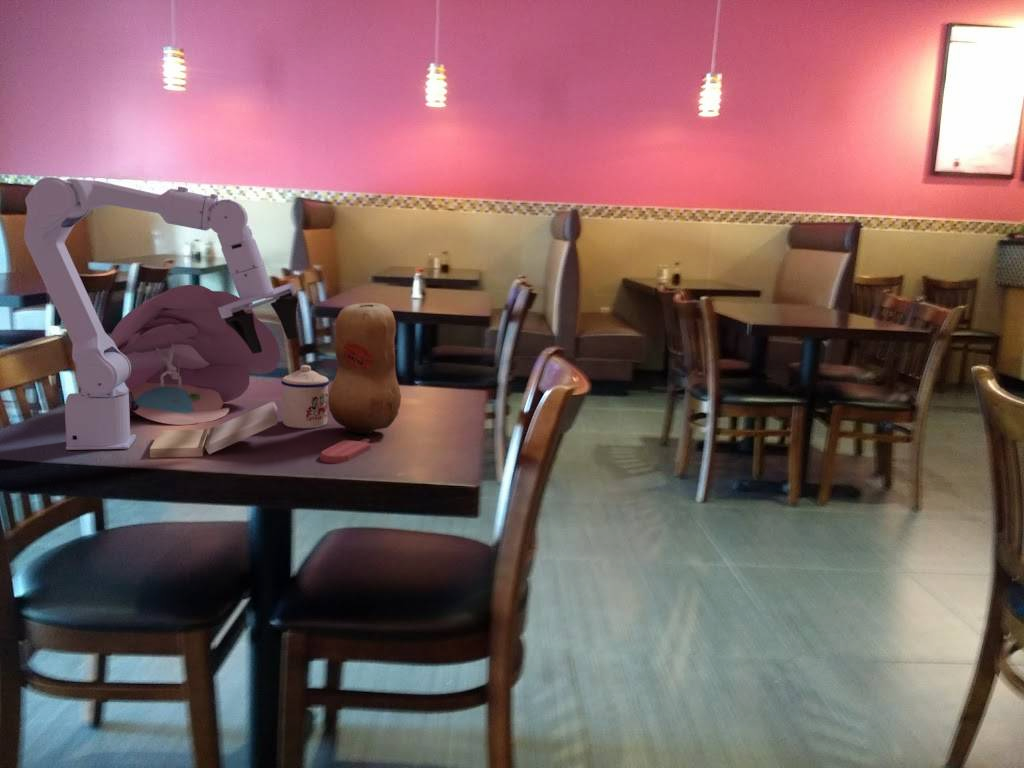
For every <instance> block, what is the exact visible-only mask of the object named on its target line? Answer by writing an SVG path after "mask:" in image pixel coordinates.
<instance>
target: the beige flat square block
mask: <svg viewBox="0 0 1024 768" xmlns="http://www.w3.org/2000/svg"><path fill="white" fill-rule="evenodd" d="M276 425H278V407H277V404H276V403H275V400H272V401H271V402H267V403H266V404H263V405H262V406H259V407H256V408H255V409H252V410H250V411H248V412H245V413H244V414H241V415H238V416H237V417H234V418H232V419H230V420H228V421H225V422H222V423H221V424H218V425H216V426H212V427H211V428H210V430H209V435H208V438H207V441H206V444H205V450H206V451H207V453H208V455H211V454H213V453H215V452H217V451H220V450H222V449H225V448H226V447H229V446H231V445H234V444H235V443H239V442H240V441H243V440H245V439H246V438H249V437H251V436H254V435H255V434H259V433H260V432H262V431H265V430H267V429H270V428H271V427H273V426H276Z"/></svg>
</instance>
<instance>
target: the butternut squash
mask: <svg viewBox="0 0 1024 768" xmlns="http://www.w3.org/2000/svg"><path fill="white" fill-rule="evenodd" d="M335 320H336V321H335V332H334V333H335V335H334V349H335V350H334V352H335V358H336V361H337V368H336V369H337V370H336V373H335V377H334V379H333V380H332V384H331V386H330V388H329V392H328V410H329V411H330V414H331V416H332V418H333V420H335V422H337V423H338V424H339V426H340V425H341V426H342V427H344V428H346V429H347V430H349V431H350V432H353V433H356V434H365V435H369V434H372V432H374V431H377V430H382V429H383V430H384V429H387V428H389V426H391V425H392V424H393V422H395V419H396V418H397V417H398V415H399V409H400V407H401V403H402V399H401V398H402V395H401V390H400V386H399V385H400V384H399V381H398V378H397V374H396V350H395V349H396V348H395V337H396V332H397V323H396V318H395V316H394V312H393V311H392V310H391V308H390V307H389V306H387V305H386V304H383V303H377V302H361V303H354V304H350V305H347V306H345V307H343V308H342V309H341V310H340V312H339V313H338V316H337V317H336V319H335Z"/></svg>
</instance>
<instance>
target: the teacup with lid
mask: <svg viewBox="0 0 1024 768" xmlns="http://www.w3.org/2000/svg"><path fill="white" fill-rule="evenodd" d="M299 368H300V369H299V370H296V371H294V372H292V373H291V374H289V375H285V376H284V377H282V378H281V385H282V424H283V425H284V426H286V427H289V428H294V429H316V428H320V427H324V426H326V425H327V423H328V410H329V384H330V381H329V378H328V377H327V376H324V375H321V374H319V373H318V372H316V371H314V370H312V367H311V366H310V365H309V364H308V365H307V364H304V365H301V366H299Z"/></svg>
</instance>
